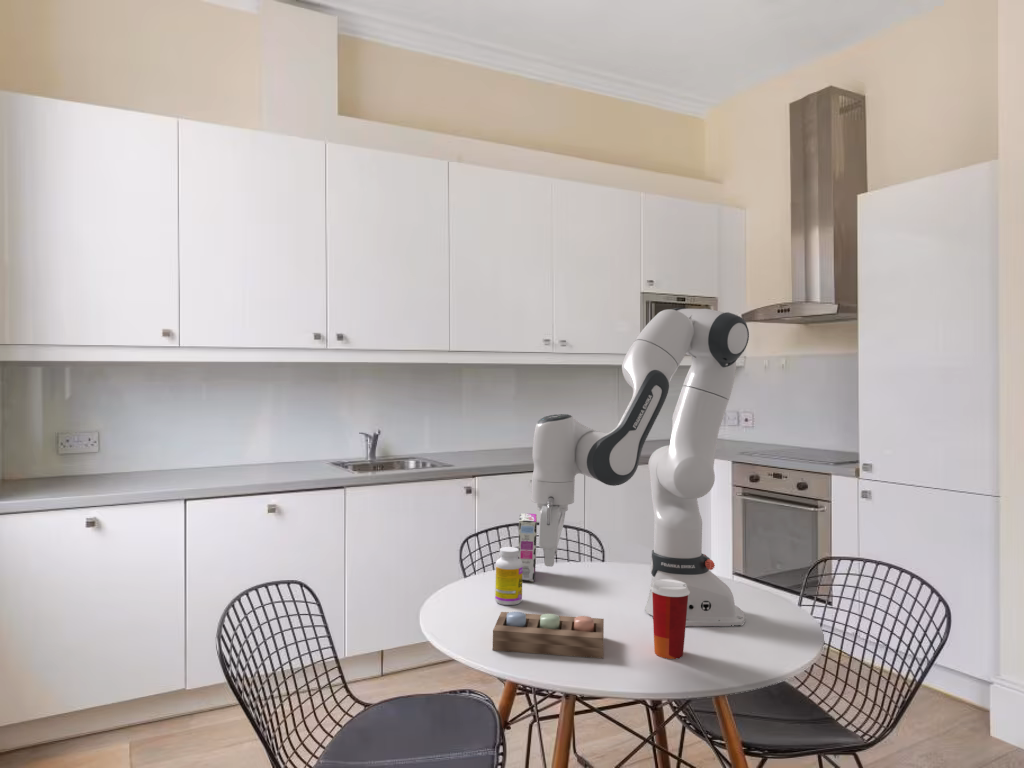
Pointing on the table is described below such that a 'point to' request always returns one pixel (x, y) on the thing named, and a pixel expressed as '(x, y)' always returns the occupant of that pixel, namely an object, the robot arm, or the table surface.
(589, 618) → the button terracotta
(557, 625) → the button sage
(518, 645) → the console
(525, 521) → the candy bar box
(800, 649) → the table surface
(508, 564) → the supplement bottle
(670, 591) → the paper cup
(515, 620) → the button slate
